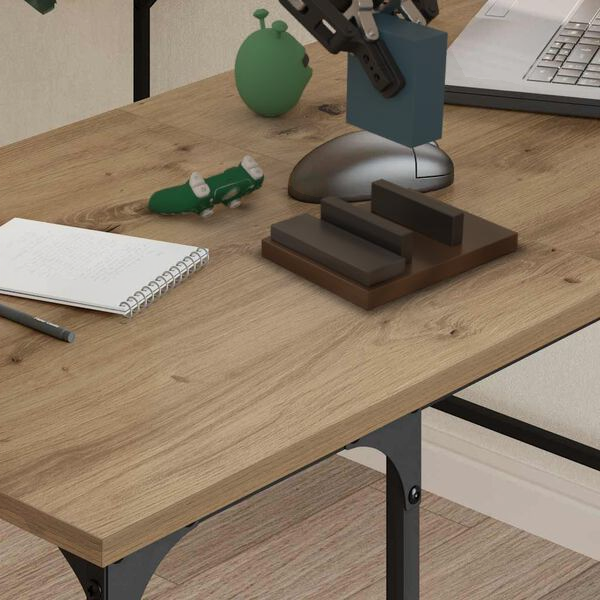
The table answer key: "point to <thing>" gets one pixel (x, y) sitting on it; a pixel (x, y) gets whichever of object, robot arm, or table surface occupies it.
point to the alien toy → (271, 68)
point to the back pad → (414, 96)
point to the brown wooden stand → (384, 244)
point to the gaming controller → (209, 191)
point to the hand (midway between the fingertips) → (415, 86)
